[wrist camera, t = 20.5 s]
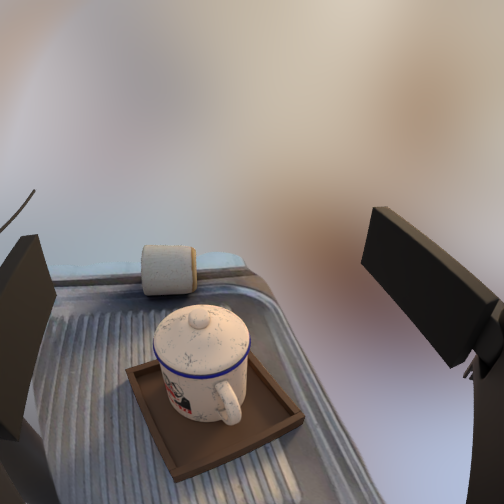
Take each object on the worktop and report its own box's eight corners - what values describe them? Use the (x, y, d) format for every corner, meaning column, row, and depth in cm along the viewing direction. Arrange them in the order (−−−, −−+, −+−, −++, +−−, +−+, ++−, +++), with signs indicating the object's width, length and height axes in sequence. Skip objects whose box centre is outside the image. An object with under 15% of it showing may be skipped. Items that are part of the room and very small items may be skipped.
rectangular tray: (128, 378, 34) (124, 369, 34) (235, 341, 41) (235, 331, 40) (175, 483, 24) (172, 477, 23) (303, 424, 31) (305, 415, 30)
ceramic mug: (199, 302, 48) (196, 257, 44) (145, 305, 46) (137, 261, 42) (196, 265, 57) (193, 225, 53) (150, 268, 55) (144, 228, 51)
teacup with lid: (156, 373, 35) (137, 296, 29) (226, 352, 39) (225, 274, 33) (193, 459, 26) (176, 396, 20) (276, 427, 30) (290, 355, 24)
